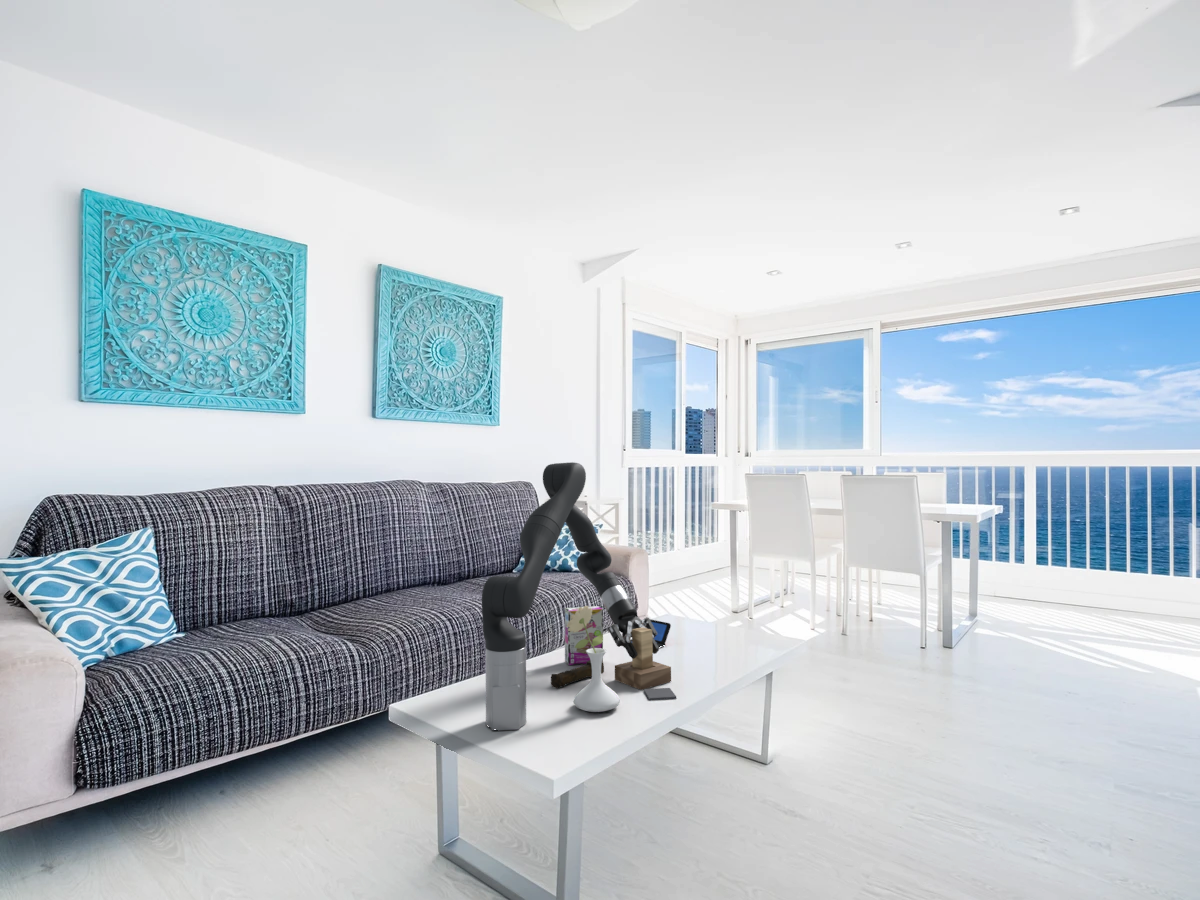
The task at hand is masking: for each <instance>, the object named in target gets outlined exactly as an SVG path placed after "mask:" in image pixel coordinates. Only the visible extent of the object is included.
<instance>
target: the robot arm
mask: <svg viewBox="0 0 1200 900" xmlns="http://www.w3.org/2000/svg"><path fill="white" fill-rule="evenodd" d="M586 479H587V473H586V469H585V468H584V466H583V465H582V464H581V463H578V462H575V461H574V462H573V461H572V462H560V463H559V462H558V463H555V462H554V463H550V464H548V465H546V466H545V468H544V470H543V472H542V483H543V487H544V490H545V492H546V494H547V495H548V497H549V499H548V500H546V501H545V502H544V503H542V504H541V505H539V506H538V507H537V508H535V510H533V511H532V512H531V513H530V515H529V516H528V518H527V520H526V522H525V523H524V526H523V527H522V530H521V531H520V535H519V544H520V549H521V553H522V556H523V560H524V565H523V567H522V569H521V572H520V573H519V574H518V576H506V575H505V576H503V575H494V576H490V577H489V578H487V580H485V583H484V584H483V588H482V592H481V614H482V615H481V616H482V618H481V619H482V633H483V634H482V635H483V637H484V638H483V639H484V642H485V725H486V724H487V725H488V726H489V727H491V728H492V729H491V728H490V729H491V731H492V730H494V729H496V730H498V731H512V730H520V729H521V727H523V726H525V725H526V723H527V637H526V634H525V633H524V632H523V631H522V630H520V629H518V628H516V627H515V626H514V625H512V623H510V622H509V620H508V619H509V618H510V619H522V618H524V617H525V616H526V615H527V614H528V613H529V611H530V610H531V607H532V606H533V603H534V600H535V597H536V594H537V591H538V588H539V587H540V582H541V581H542V576H543V574H544V570H545V569H546V566H547V563H548V561H549V559H550V556H551V555H552V552H553V550H554V548H555V546H556V544H557V542H558V540H559V538H560V535H561V532H562V530H563V528H564V525H565V524H566V526H567V528H568V531H569V532H570V533H569V534H570V535H571V538H572V540H573V542H574V546H575V547H576V549H577V550H578V551H579V552H580V553H582V554H580V555H579V556H578V557H577V558H576V567H577V569H578V571H579V572H580V573H581V574H582V575H583V576H584V577H585V579H587V580H588V581H589V582H590V583H591V585H593V587H594V588H595V590H596V592H597V593H598V595H599V597H600V599H601V602H602V603H603V606H604V608H605V610H606V612H607V614H608V616H609V617H610V620H611V622H612V624H611V625H610V627H609V628H608V632H609V634H610V635H611V638H612V639H613V641H614V643H615V645H616V647H618V648H619V647H623V648H624V649H625V650H626V652H627V654H628V656H629V657H630V658H631V659H634V658H636V656H637V655H638V654H637V652H636V650H635V648H634V646H633V644H632V643H630V640H631V639H632V629H636V628H641V627H644V628H647V629H651V630H652V642H653V655H655V654H657V653H658V651H659V650H660V648H659V647H658V645H657V643H656V641H655V640H654V638H655V637H656V635H657V634H658V633H657V631H656V630H655V628H654V626H653V624H652V623H651V621H650V618H649V617H645V618H646V619H645V618H643V619H644V620H643V619H641V618H640V617H639V616H638V610H637V609H636V607H635V605H634V604H633V602H632V600H631V599H630V597H629V595H628V594H627V592H626V590H625V589H624V588H623V587H622V585H621V583H620V581H619V579H618V578H617V576H616V575H615V573H614V572H612V571H606V572H602V573H600V572H601V571H604V570H606V569H607V568H609V567H610V566H611V564H612V556H611V554H610V552H609V550H607V548H606V547H605V546H604V545H603V544H602V542H601V541H600V540H599V537H598V536H597V532H596V530H595V527H594V525H593V522H592V521H591V519H590V518H589V516H588V515H587V514H586V513H584V512H583V511H582V510H581V509H580V508H579V507H578V506H577V505H576V502H577V501H578V500H579V498H580V497H581V495H582V492H583V491H584V488H585V485H586V481H587V480H586ZM489 727H488V728H489Z"/></svg>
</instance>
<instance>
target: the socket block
mask: <svg viewBox="0 0 1200 900" xmlns="http://www.w3.org/2000/svg"><path fill="white" fill-rule="evenodd" d="M614 681H615V682H619V683H622V684H625V685H627V686H630V687H632V688H634V689H637V690H640V691H644V689H651V688H654V687H658V686H660V684H661V685H664V683H665V684H668V683H671V682H672V666H669V665H666V664H663V663H660V662H657V661H654V660H653V667H652V668H648V669H644V670H640V669H637V668H634V667H632V661H626V662H624V663H620V664H615V665H614ZM670 681H671V682H670ZM667 682H668V683H667Z"/></svg>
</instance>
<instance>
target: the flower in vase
mask: <svg viewBox="0 0 1200 900" xmlns="http://www.w3.org/2000/svg"><path fill="white" fill-rule="evenodd" d="M579 607H580V608H579V610H577V611H576V613H575V615H572V616H571V619H572V620H570V621H569V622H568V625H567V627H569V629H568V631H570V632H572V631H573V633H575V632H578V631H579V630H581V629H582V628H583V627H585V630H586V633H587V637H588V640H589V641H588V640H586V639H583V640H581V641H579V642H578V643H577V644H576V646H575V648H583V647H585V646H586V645H587V643H588V642H590V644H591V646H592V647H593V648H591V649H588V650H586V652H587V654H588V655H589V657H590V660H591V666H592V678H591V679H590V682H588V684H587V685H586V686H584V687H583V688H582V689H581V690H579V692H578V693H577V694H576V695H575V696H574V699H573V701H572V702H573V704H574V706H575V707H576V708H577V709H580V710H582V711H585V712H590V713H601V712H607V711H611V710H614V709H616V708H617V707H618V706H619V704H620V703H621V699H620V697H619V695H618V694H617V693H616V691H614V690H613V689H612V688H611V687H609V686H608V685H606V683H605V682H604V680H603V679H602V674H601V664H602V659H603V660H604V657H605V655H606V653H607V649H605V648H603V649H602V648H594V646H597V645H599V644H601V643H602V642H603V643H604V632H603V633H602V634H601V635H599V636H597V637H596V638H594V639H593V640H592V643H591V641H590V639H589V635H588V632H587V629H586V625H587V623H588V622H589V620H590V619H591V615H592V608H588V607H589V606H588V605H584V606H579ZM582 607H583V609H582Z"/></svg>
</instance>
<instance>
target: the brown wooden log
mask: <svg viewBox="0 0 1200 900" xmlns="http://www.w3.org/2000/svg"><path fill="white" fill-rule="evenodd" d="M604 672H605V665H604V660H603V661H602V664H601V675H602V674H603V673H604ZM586 678H591V679H592V666H591V660H589V661H588V662H587V664H583V665H580V666H578V667H575V668H573V669H570V670H569V669H567V670H565V671H561V672H559V673H551V676H550V685H551V688H555V689H560V688H564V687H565V686H567V685H569V684H571V683H574V682H575V683H576V682H578V681H581V680H583V679H586Z"/></svg>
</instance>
